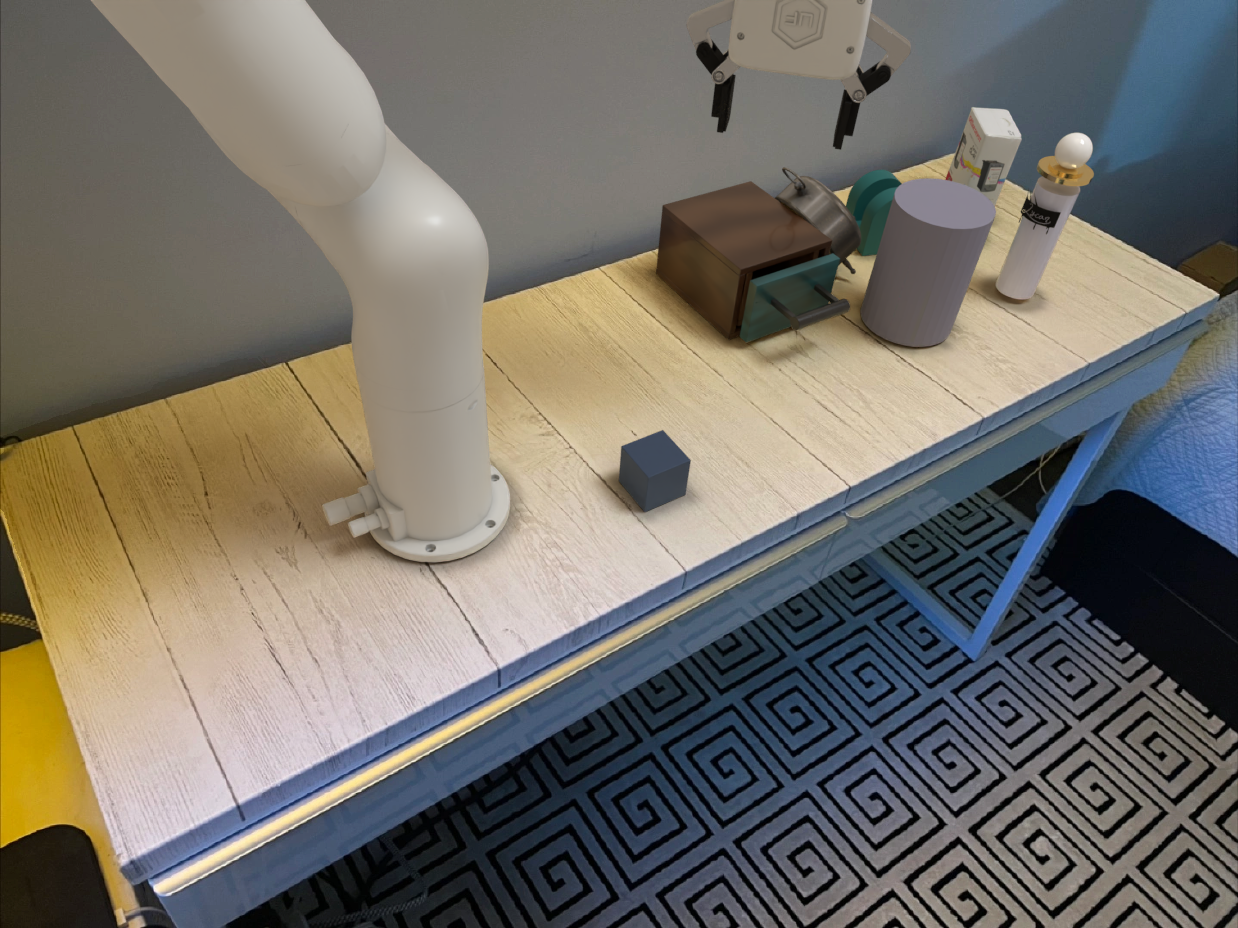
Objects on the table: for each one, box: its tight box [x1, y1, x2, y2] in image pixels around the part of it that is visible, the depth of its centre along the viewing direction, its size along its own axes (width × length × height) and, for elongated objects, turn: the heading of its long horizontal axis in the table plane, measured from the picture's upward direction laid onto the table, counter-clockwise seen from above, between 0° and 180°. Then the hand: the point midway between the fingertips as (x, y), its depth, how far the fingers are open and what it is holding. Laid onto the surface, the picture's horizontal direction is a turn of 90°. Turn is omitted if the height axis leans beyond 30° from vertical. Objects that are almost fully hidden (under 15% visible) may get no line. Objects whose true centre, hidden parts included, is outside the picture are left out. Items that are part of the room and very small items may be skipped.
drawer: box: [736, 250, 851, 344], centre depth 101 cm, size 18×11×7 cm, turn 32°
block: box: [618, 429, 692, 513], centre depth 83 cm, size 4×4×4 cm
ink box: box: [944, 106, 1022, 207], centre depth 121 cm, size 9×5×12 cm, turn 177°
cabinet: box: [655, 180, 832, 341], centre depth 104 cm, size 15×13×9 cm
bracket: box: [845, 169, 903, 257], centre depth 116 cm, size 18×7×8 cm, turn 104°
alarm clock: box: [774, 166, 861, 275], centre depth 106 cm, size 11×5×16 cm
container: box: [860, 177, 997, 348], centre depth 100 cm, size 10×10×15 cm
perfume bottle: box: [994, 132, 1095, 300], centre depth 103 cm, size 6×6×20 cm
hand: (780, 133), depth 77 cm, fingers open, 9 cm apart
